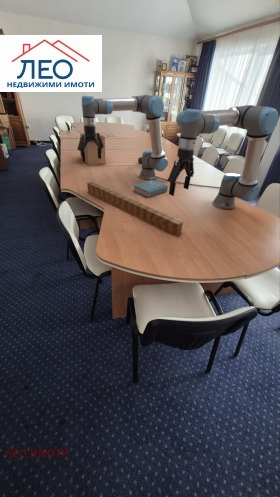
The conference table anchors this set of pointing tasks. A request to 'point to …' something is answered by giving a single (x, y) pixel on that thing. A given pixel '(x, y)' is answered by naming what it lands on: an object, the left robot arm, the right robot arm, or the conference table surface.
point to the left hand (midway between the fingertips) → (91, 159)
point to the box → (94, 149)
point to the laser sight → (140, 160)
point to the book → (150, 188)
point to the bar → (136, 209)
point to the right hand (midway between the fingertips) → (178, 191)
